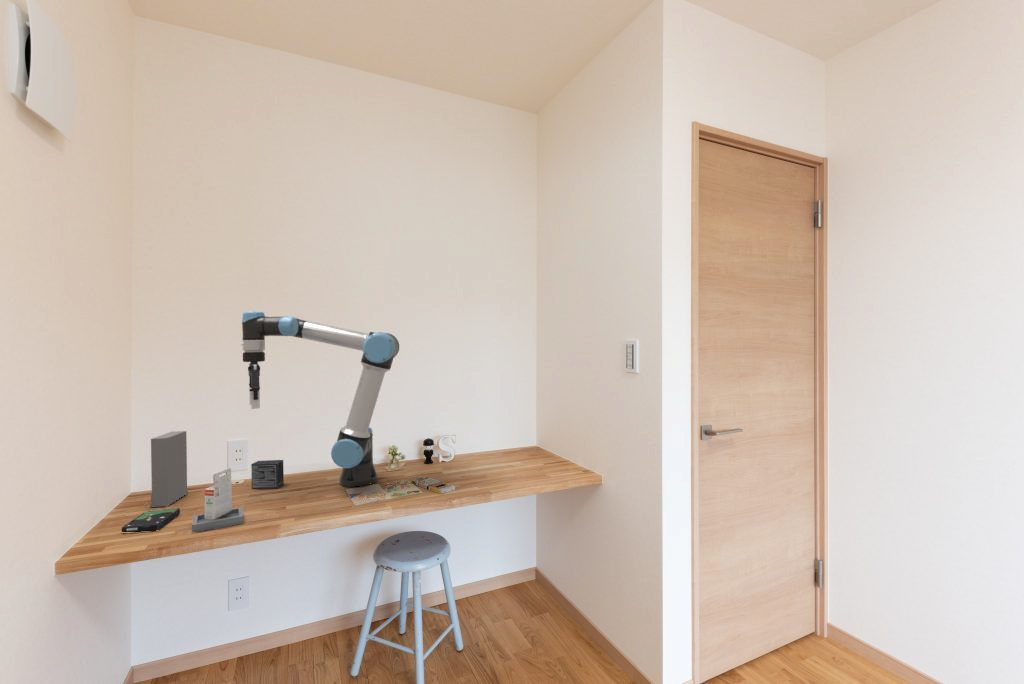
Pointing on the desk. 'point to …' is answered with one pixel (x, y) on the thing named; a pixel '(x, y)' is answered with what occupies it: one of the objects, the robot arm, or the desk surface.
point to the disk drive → (151, 520)
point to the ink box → (218, 496)
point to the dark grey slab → (168, 468)
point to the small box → (267, 474)
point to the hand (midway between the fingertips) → (254, 406)
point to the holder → (217, 520)
